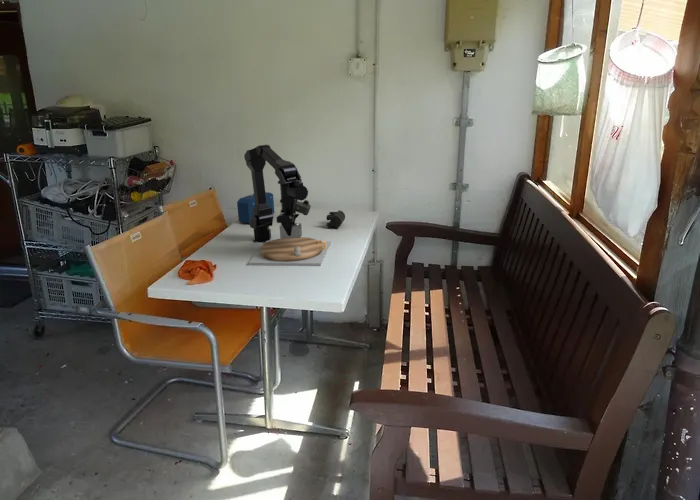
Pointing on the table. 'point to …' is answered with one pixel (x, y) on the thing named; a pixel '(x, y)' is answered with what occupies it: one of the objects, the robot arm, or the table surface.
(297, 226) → the steel link block
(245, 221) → the radio
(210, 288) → the table surface
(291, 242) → the round wooden board
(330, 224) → the end cap
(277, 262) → the base plate
